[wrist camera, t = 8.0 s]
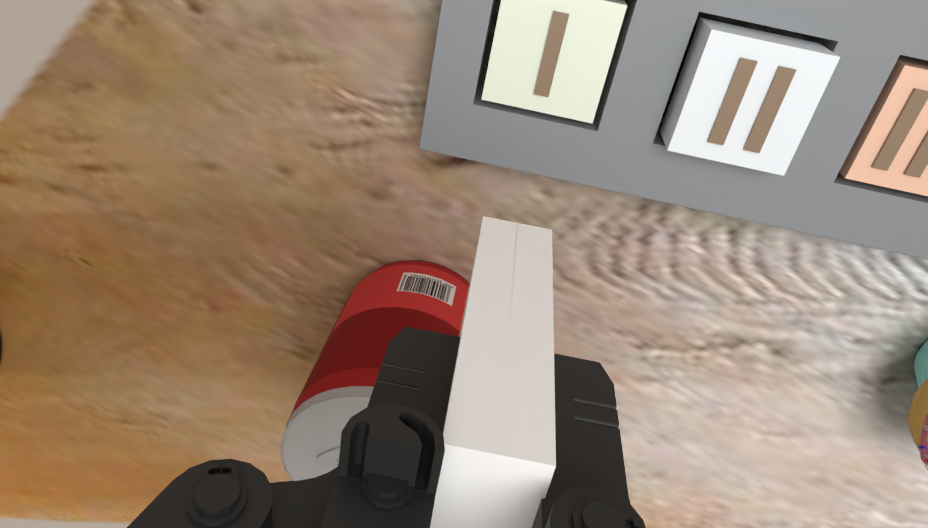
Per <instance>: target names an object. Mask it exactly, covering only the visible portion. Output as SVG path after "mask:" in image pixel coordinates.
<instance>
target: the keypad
mask: <svg viewBox="0 0 928 528" xmlns="http://www.w3.org/2000/svg"><path fill="white" fill-rule="evenodd" d="M496 2H497V0H442V5H441V11H440V18H439V24H438V31H437V37H436V44H435V50H434V57H433V63H432V69H431V76H430V82H429V89H428V95H427V102H426V108H425V115H424V121H423V128H422V134H421V141H420V147H419V149H422V150H427V151H431V152H436V153H440V154H445V155H450V156H454V157H459V158H463V159H468V160H473V161H477V162H482V163H486V164H491V165H496V166H500V167H505V168H509V169H514V170H519V171H523V172H528V173H532V174H537V175H542V176H546V177H551V178H555V179H560V180H564V181H569V182H574V183H578V184H583V185H587V186H592V187H597V188H601V189H606V190H610V191H615V192H620V193H624V194H629V195H633V196H638V197H643V198H647V199H652V200H656V201H661V202H666V203H670V204H675V205H679V206H684V207H689V208H693V209H698V210H702V211H707V212H711V213H716V214H721V215H725V216H730V217H734V218H739V219H744V220H748V221H753V222H757V223H762V224H767V225H771V226H776V227H780V228H785V229H790V230H794V231H799V232H803V233H808V234H813V235H817V236H822V237H826V238H831V239H836V240H840V241H845V242H849V243H854V244H859V245H863V246H868V247H872V248H877V249H881V250H886V251H891V252H895V253H900V254H904V255H909V256H914V257H918V258H923V259H927V260H928V196H924V195H919V194H915V193H910V192H905V191H901V190H896V189H892V188H887V187H882V186H878V185H873V184H869V183H864V182H859V181H855V180H850V179H846V178H844V177H843V176H842V175H841V174H840V172H839V171H840V169H841V167H842V165H843V163H844V161H845V159H846V157H847V156H848V154H849V152H850V150H851V148H852V146H853V144H854V142H855V140H856V138H857V136H858V134H859V133H860V131H861V129H862V127H863V125H864V123H865V121H866V119H867V117H868V115H869V113H870V111H871V110H872V108H873V106H874V104H875V102H876V100H877V98H878V96H879V94H880V92H881V90H882V88H883V87H884V85H885V83H886V81H887V79H888V77H889V75H890V73H891V71H892V69H893V67H894V65H895V64H896V62H897V60H898V58H899V56H900V55H904V56H908V57H913V58H918V59H922V60H927V61H928V0H625V2H626V4H627V8H626V12H625V15H624V19H623V22H622V25H621V29H620V32H619V36H618V39H617V42H616V46H615V49H614V52H613V56H612V59H611V63H610V66H609V69H608V73H607V76H606V80H605V83H604V86H603V90H602V93H601V96H600V100H599V103H598V107H597V110H596V113H595V117H594V120H593V124H592V123H588V122H583V121H578V120H574V119H569V118H564V117H560V116H555V115H551V114H546V113H541V112H537V111H532V110H528V109H523V108H518V107H514V106H509V105H504V104H500V103H495V102H491V101H486V100H481V99H482V94H483V89H484V84H483V83H481V79H482V74H483V68H484V63H485V58H486V53H487V48H488V43H489V38H490V33H491V28H492V22H493V17H494V12H495V7H496ZM699 12H704V13H708V14H713V15H718V16H722V17H727V18H732V19H736V20H741V21H746V22H750V23H755V24H760V25H764V26H769V27H773V28H778V29H783V30H787V31H792V32H797V33H801V34H805V36H804V38H803V40H807V41H812V42H816V43H820V44H821V45H823V46H824V47H826V48H827V49H829V50H830V51H832V52H833V53H835V54H837V55H838V56H840V59H839V61H838V63H837V65H836V67H835V70H834V72H833V74H832V76H831V78H830V80H829V82H828V84H827V86H826V88H825V91H824V93H823V95H822V97H821V99H820V101H819V103H818V105H817V107H816V109H815V112H814V114H813V116H812V118H811V120H810V122H809V124H808V126H807V128H806V131H805V133H804V135H803V137H802V139H801V141H800V143H799V145H798V147H797V149H796V152H795V154H794V156H793V158H792V160H791V162H790V164H789V166H788V168H787V170H786V173H785V175H784V176H783V175H778V174H773V173H769V172H764V171H759V170H755V169H750V168H746V167H741V166H736V165H732V164H727V163H723V162H718V161H713V160H709V159H704V158H700V157H695V156H690V155H686V154H681V153H676V152H672V151H667V148H666V146H665V143H664V141H663V138H662V136H661V133H660V129H661V127H662V124H663V122H660V121H661V119H662V116H663V113H664V110H665V107H666V104H667V101H668V99H669V96H670V93H671V90H672V87H673V84H674V81H675V79H676V76H677V73H678V70H679V67H680V64H681V62H682V59H683V56H684V53H685V50H686V47H687V44H688V42H689V39H690V36H691V33H692V30H693V27H694V25H695V22H696V19H697V16H698V13H699Z"/></svg>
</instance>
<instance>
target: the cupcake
mask: <svg viewBox="0 0 928 528" xmlns="http://www.w3.org/2000/svg"><path fill="white" fill-rule="evenodd" d="M914 372H915V376H916V380H917V386H918V389H917V391H916V392H915V394H914V396H913V400H912V404H911V408H910V410H909V412H908V415H907V422H908V425H909V428H910V431H911V434H912V436H913V439H914V442H915V444H916V446H917V448H918V449H919V451H920V455H921V459H922V461H923V462H924V463H925V467H926V468H927V470H928V340H927V341H926V342H925V343H924V344H923V346H922V347H921V348H920V350H919V351H918V353H917V355H916V358H915V362H914Z"/></svg>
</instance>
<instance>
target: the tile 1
mask: <svg viewBox="0 0 928 528" xmlns="http://www.w3.org/2000/svg"><path fill="white" fill-rule="evenodd" d="M626 8H627V4H626V2H625V0H501V3H500V8H499V13H498V19H497V24H496V29H495V34H494V39H493V44H492V49H491V54H490V59H489V64H488V69H487V74H486V79H485V84H484V89H483V94H482V99H481V100H486V101H491V102H495V103H500V104H504V105H509V106H514V107H518V108H523V109H528V110H532V111H537V112H541V113H546V114H551V115H555V116H560V117H564V118H569V119H574V120H578V121H583V122H588V123H592V124H593V120H594V117H595V113H596V110H597V107H598V103H599V100H600V96H601V93H602V90H603V86H604V83H605V80H606V76H607V73H608V69H609V66H610V63H611V59H612V56H613V52H614V49H615V46H616V42H617V39H618V36H619V32H620V29H621V25H622V22H623V19H624V15H625V12H626Z"/></svg>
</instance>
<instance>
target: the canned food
mask: <svg viewBox="0 0 928 528" xmlns="http://www.w3.org/2000/svg"><path fill="white" fill-rule="evenodd" d="M468 289H469V283H468V282H467V280H465V279H464V278H463V277H461V276H460V275H458V274H457V273H456V272H454V271H452V270H450V269H448V268H446V267H444V266H440V265H437V264H434V263H431V262H423V261H401V262H396V263H391V264H388V265H386V266H383V267H381V268H378V269H377V270H375V271H374V272H372V273H371V274H369V275H368V276H367V277H365V278H364V279H362V280H361V281H360V282H359V283H358V285H357V286H356V287H355V288H354V289H353V291H352V292H351V294H350V296H349V297H348V299H347V301H346V303H345V305H344V307H343V309H342V311H341V313H340V315H339V317H338V319H337V321H336V323H335V326H334V328H333V330H332V332H331V334H330V336H329V338H328V340H327V342H326V344H325V346H324V348H323V350H322V352H321V354H320V356H319V358H318V360H317V362H316V364H315V366H314V368H313V370H312V372H311V374H310V376H309V378H308V380H307V382H306V384H305V386H304V388H303V390H302V392H301V394H300V396H299V398H298V400H297V402H296V404H295V407H294V409H293V411H292V413H291V415H290V418H289V420H288V422H287V425H286V428H285V431H284V434H283V438H282V442H281V458H282V461H283V464H284V468H285V470H286V472H287V474H288V475H289V477H290V479H291V480H292V481H299V480H305V479H310V478H315V477H318V476H320V475H323V474H326V473H328V472H330V471H331V470H333V469H334V468H336V467H337V466H338V465H339V454H340V443H341V433H342V430H343V428H344V427H345V425H346V424H347V422H348V421H349V419H350V418H351V417H352V416H354V415H355V414H357V413H359V412H360V411H362V410H363V409H365V408H367V406H368V403H369V400H370V397H371V394H372V391H373V388H374V385H375V383H376V380H377V376H378V373H379V370H380V367H381V366H382V361H383V358H384V355H385V352H386V349H387V346H388V343H389V341H390V340H391V339H393V338H394V337H395V336H396V335H397V334H398V333H399V332H400V331H402V330H403V329H404V328H405V327H406V326H407V327H412V328H417V329H422V330H427V331H433V332H438V333H443V334H448V335H453V336H458V337H459V335H460V330H461V325H462V319H463V314H464V309H465V304H466V299H467V294H468Z"/></svg>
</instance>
